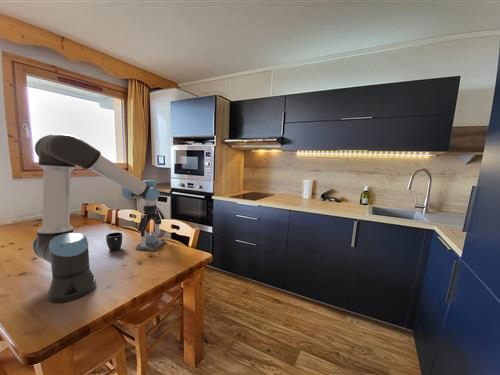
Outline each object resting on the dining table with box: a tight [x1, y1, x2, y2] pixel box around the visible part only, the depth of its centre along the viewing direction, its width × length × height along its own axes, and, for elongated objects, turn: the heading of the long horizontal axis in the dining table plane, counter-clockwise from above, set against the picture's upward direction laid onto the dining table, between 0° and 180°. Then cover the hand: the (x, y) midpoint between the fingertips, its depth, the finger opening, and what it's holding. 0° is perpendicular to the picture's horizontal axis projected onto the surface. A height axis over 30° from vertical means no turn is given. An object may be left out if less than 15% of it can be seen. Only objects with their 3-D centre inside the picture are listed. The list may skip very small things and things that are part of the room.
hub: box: [145, 231, 159, 245], centre depth 132 cm, size 7×7×6 cm
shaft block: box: [135, 233, 167, 252], centre depth 132 cm, size 14×12×8 cm
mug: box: [105, 231, 123, 253], centre depth 124 cm, size 8×12×10 cm
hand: (150, 237), depth 132 cm, fingers open, 13 cm apart
